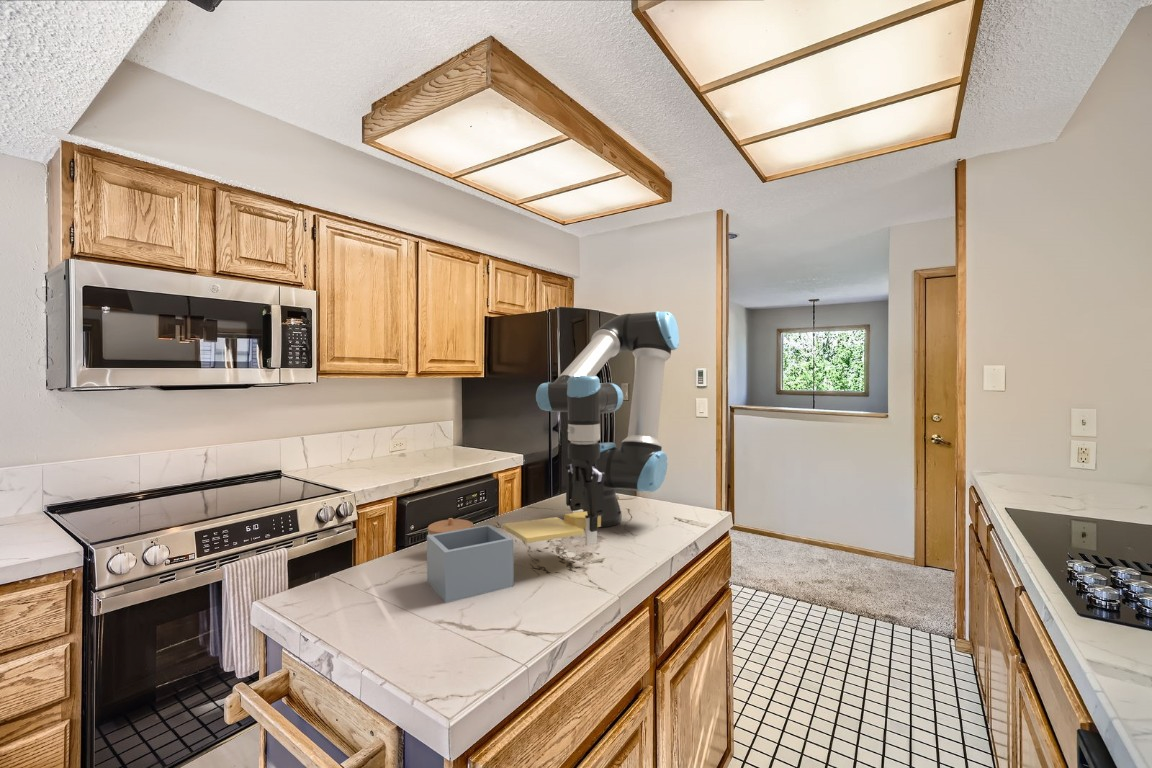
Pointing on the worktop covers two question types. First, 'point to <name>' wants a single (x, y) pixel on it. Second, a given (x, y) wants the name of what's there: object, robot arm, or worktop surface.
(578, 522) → the lid
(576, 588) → the worktop surface
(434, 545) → the tub
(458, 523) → the lidded jar
